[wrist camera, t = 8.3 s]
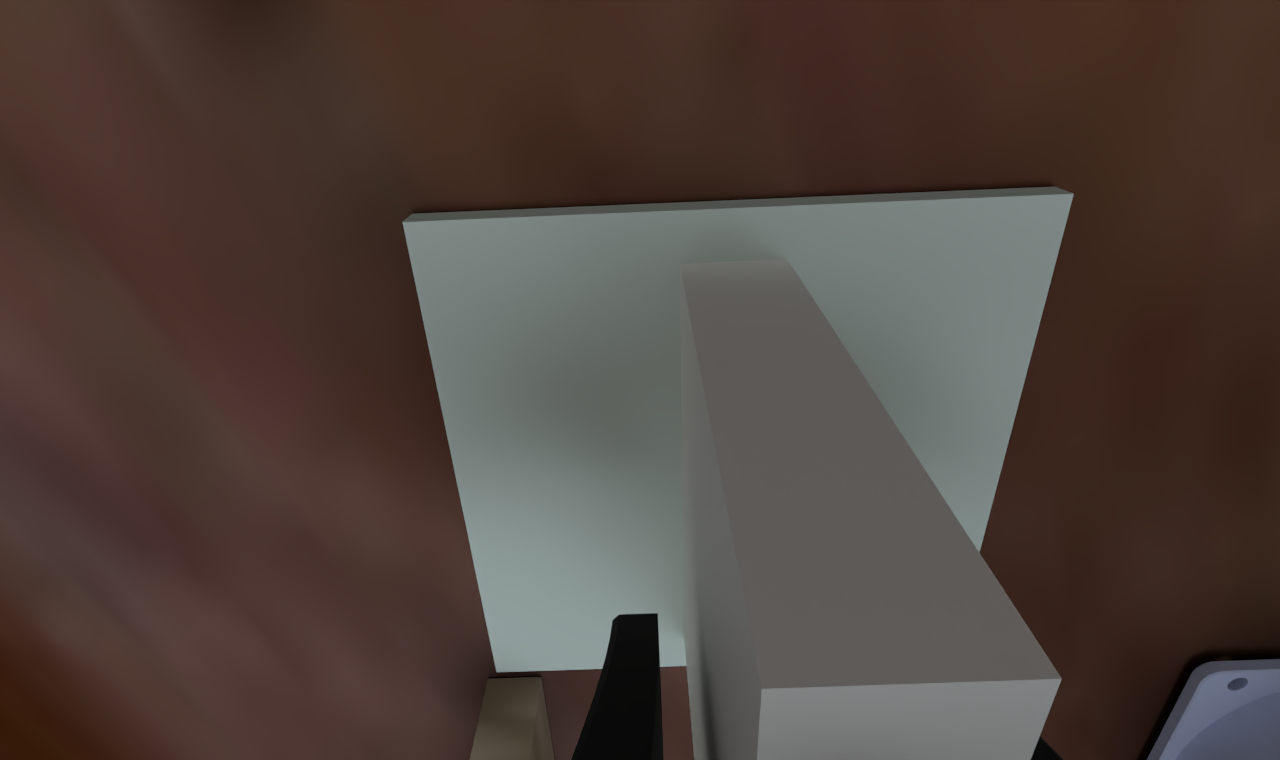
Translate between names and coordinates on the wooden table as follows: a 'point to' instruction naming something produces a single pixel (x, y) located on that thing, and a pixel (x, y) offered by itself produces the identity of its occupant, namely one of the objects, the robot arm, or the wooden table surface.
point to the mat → (651, 375)
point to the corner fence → (513, 722)
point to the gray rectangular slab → (828, 554)
